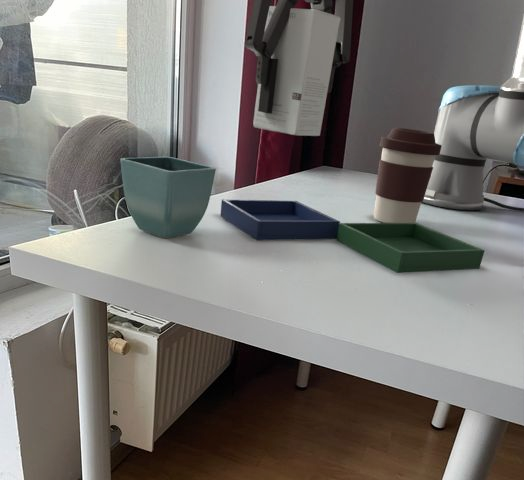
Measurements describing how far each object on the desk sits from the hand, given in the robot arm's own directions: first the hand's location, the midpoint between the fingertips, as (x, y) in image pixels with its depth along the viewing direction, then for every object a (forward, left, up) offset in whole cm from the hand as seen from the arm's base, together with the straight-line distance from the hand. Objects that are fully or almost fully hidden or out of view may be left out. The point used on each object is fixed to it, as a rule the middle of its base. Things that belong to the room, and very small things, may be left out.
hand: (290, 114), depth 77 cm
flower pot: (+18, +2, -16) cm, 24 cm away
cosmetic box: (0, 0, -3) cm, 3 cm away
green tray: (-13, +14, -16) cm, 25 cm away
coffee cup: (-25, -4, -16) cm, 30 cm away
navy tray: (0, 0, -16) cm, 16 cm away
